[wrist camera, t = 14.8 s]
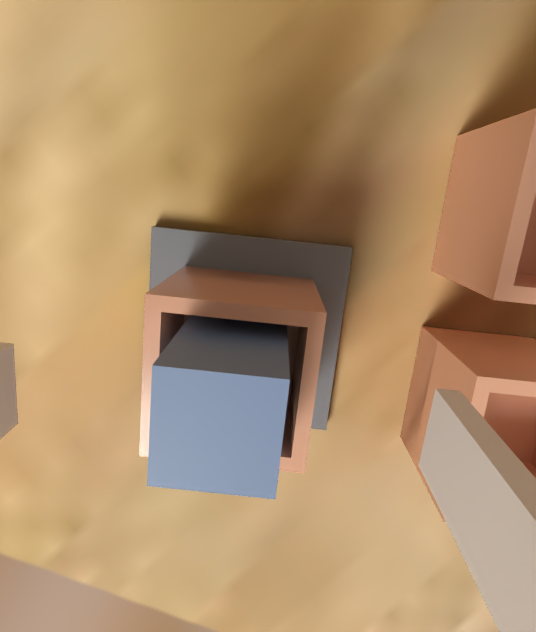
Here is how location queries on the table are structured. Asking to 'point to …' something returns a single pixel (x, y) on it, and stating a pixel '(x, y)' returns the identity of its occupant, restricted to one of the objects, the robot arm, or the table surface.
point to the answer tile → (273, 259)
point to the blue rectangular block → (219, 408)
